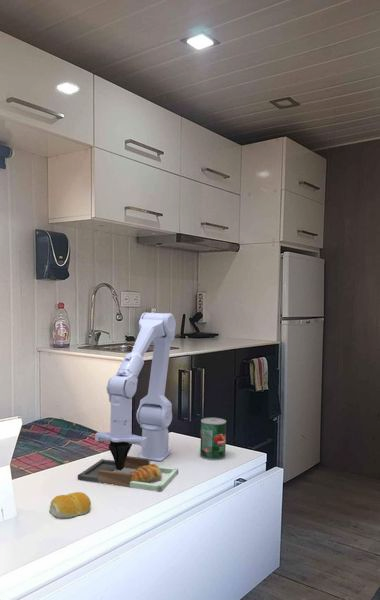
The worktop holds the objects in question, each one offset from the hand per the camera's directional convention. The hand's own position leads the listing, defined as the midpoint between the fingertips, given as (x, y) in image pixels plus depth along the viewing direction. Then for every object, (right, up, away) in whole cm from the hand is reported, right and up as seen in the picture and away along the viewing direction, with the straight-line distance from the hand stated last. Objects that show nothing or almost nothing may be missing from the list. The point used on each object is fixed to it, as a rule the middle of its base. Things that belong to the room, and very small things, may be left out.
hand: (120, 469), depth 135 cm
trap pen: (-6, -2, +2) cm, 6 cm away
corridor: (+1, -2, 0) cm, 2 cm away
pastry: (+7, -2, -3) cm, 8 cm away
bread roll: (-8, -2, -23) cm, 24 cm away
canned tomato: (+26, -2, +18) cm, 32 cm away
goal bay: (+10, -2, -3) cm, 10 cm away
